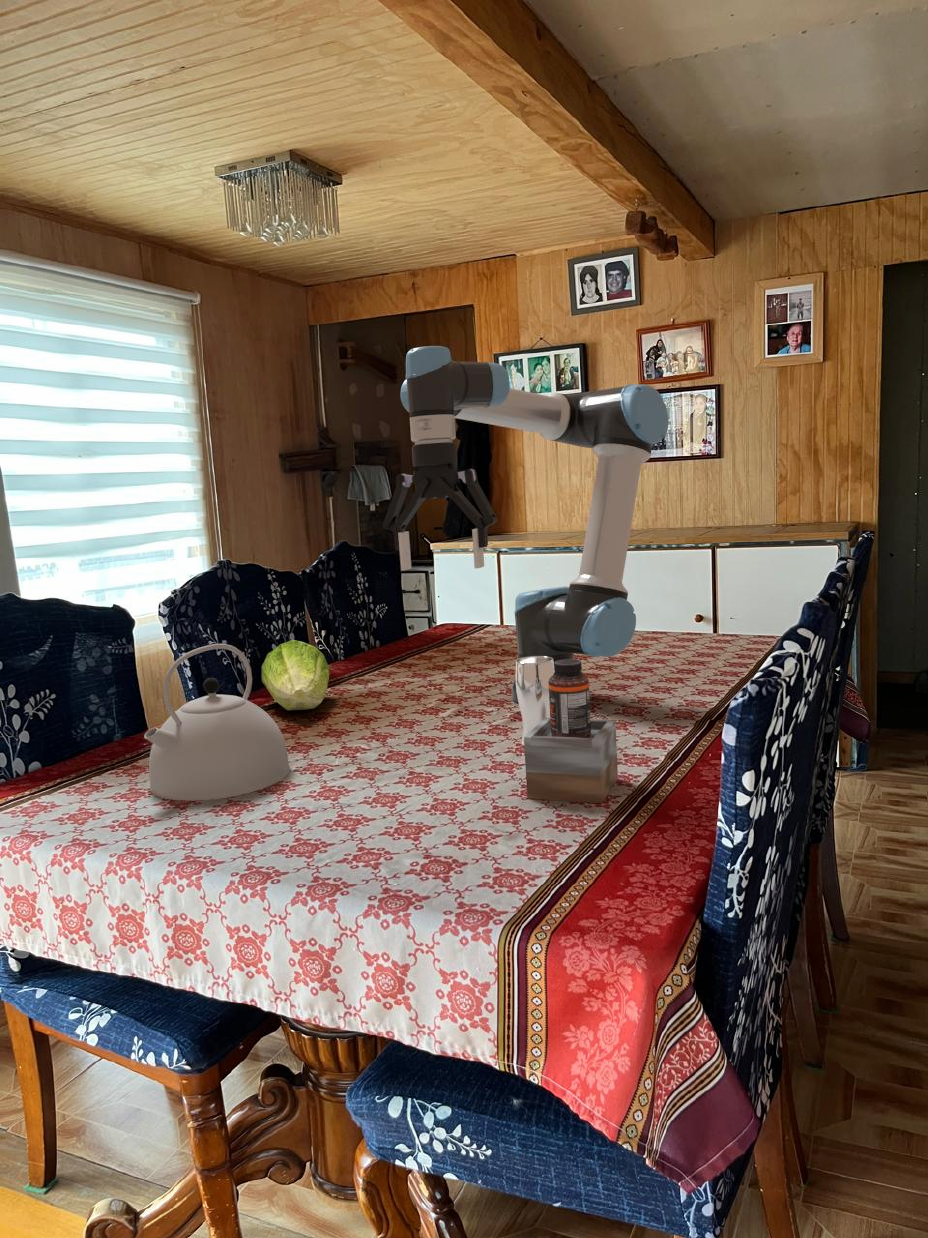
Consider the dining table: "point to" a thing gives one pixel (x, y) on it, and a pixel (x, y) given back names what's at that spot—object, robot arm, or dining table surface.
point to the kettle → (215, 744)
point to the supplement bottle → (569, 700)
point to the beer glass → (533, 689)
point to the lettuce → (296, 675)
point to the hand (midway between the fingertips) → (442, 568)
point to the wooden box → (571, 763)
